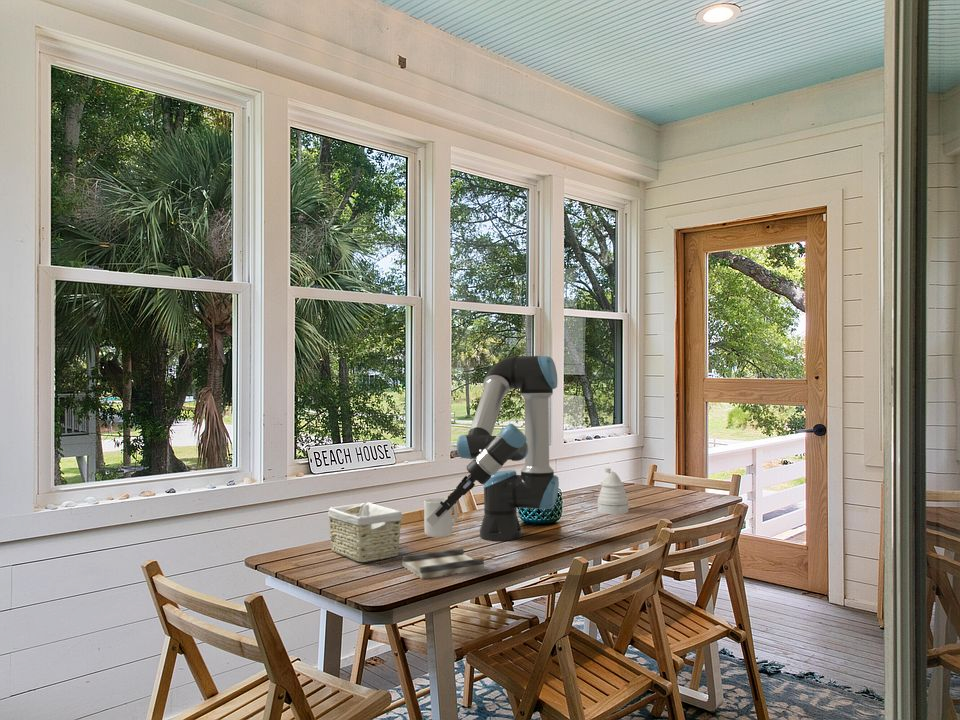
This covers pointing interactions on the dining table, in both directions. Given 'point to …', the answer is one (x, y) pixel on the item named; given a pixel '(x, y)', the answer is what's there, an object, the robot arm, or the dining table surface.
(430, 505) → the cup
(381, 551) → the storage basket
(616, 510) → the honey pot
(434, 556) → the rail board
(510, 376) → the robot arm
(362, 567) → the dining table surface
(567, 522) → the dining table surface
